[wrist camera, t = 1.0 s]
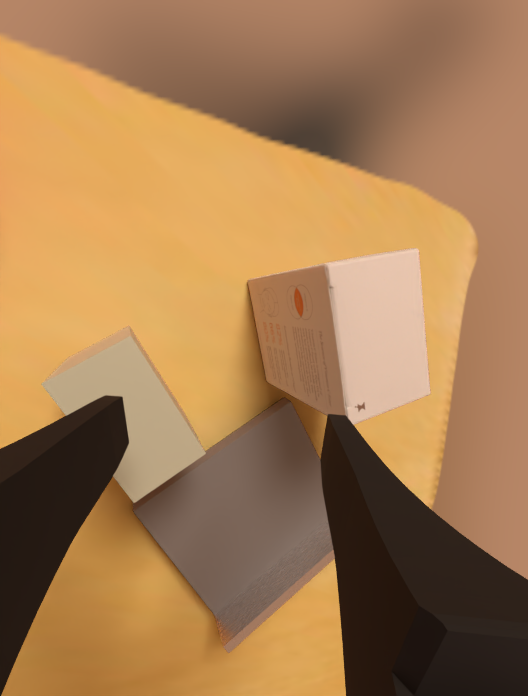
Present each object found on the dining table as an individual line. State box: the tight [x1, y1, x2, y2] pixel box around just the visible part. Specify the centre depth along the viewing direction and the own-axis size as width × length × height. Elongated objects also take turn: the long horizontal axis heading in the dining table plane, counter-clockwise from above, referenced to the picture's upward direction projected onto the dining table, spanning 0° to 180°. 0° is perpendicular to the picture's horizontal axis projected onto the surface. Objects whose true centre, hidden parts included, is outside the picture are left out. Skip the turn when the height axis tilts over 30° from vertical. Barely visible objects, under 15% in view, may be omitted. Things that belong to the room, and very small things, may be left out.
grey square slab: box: [133, 398, 335, 653], centre depth 25 cm, size 13×12×4 cm
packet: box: [42, 326, 206, 503], centre depth 18 cm, size 4×7×7 cm, turn 28°
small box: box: [248, 248, 431, 425], centre depth 21 cm, size 8×6×10 cm
